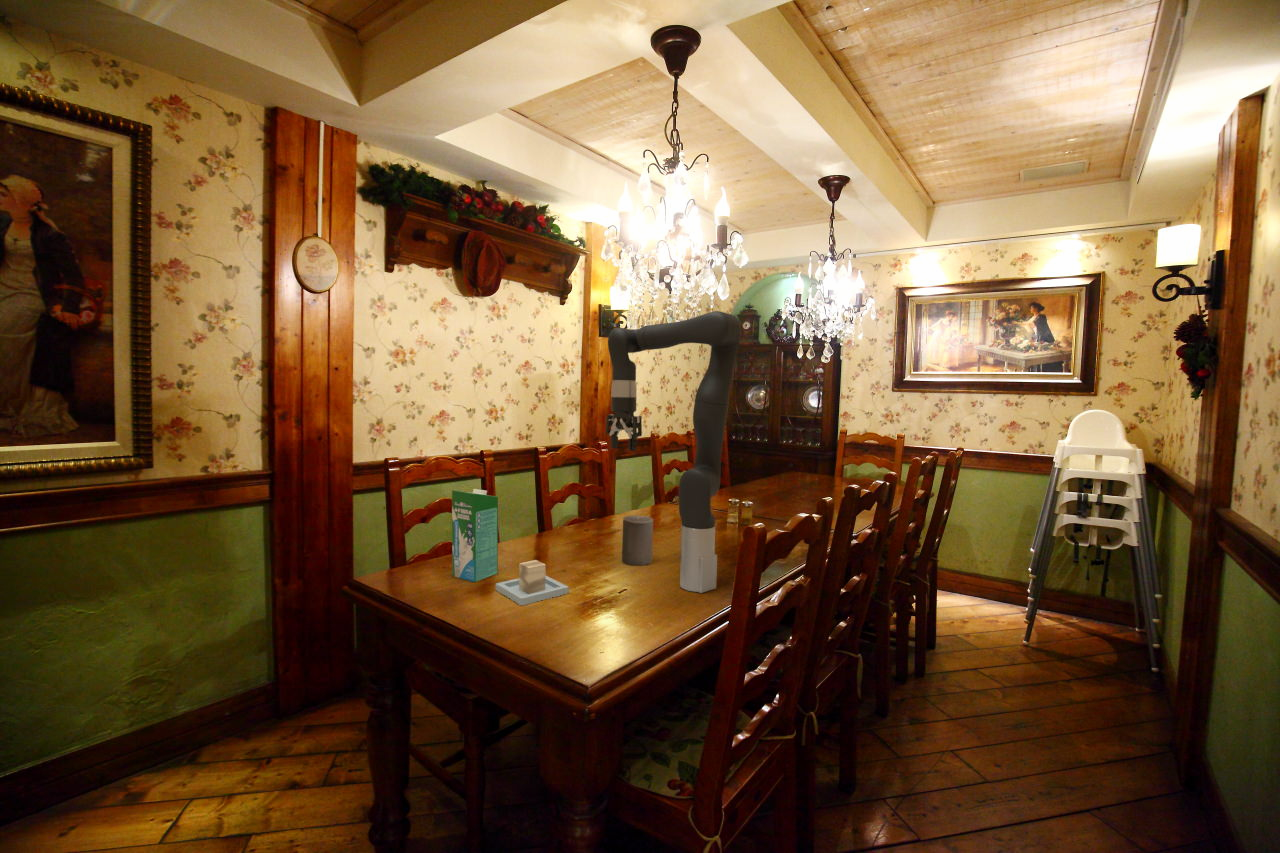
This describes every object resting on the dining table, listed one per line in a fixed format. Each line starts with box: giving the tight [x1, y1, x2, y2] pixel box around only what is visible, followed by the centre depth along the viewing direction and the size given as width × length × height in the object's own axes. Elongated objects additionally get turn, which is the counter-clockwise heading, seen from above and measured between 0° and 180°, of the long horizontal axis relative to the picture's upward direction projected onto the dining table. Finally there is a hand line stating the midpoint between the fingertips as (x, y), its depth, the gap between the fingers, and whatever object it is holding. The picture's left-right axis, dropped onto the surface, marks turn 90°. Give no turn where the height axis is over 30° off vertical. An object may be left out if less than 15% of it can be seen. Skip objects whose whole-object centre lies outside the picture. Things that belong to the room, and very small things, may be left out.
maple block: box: [518, 559, 547, 594], centre depth 152 cm, size 5×5×7 cm
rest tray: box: [495, 574, 570, 606], centre depth 153 cm, size 14×14×2 cm
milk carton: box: [451, 488, 499, 583], centre depth 165 cm, size 9×9×25 cm
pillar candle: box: [621, 514, 654, 566], centre depth 181 cm, size 10×10×15 cm
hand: (623, 449), depth 172 cm, fingers open, 8 cm apart
